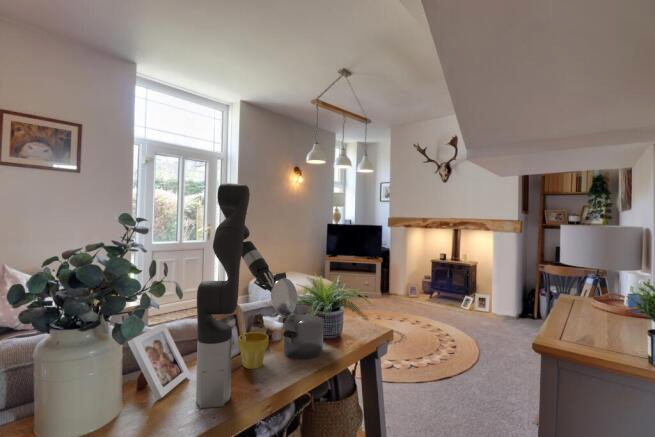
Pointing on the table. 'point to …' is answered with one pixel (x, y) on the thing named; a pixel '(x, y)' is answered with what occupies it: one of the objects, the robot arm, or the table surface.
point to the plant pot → (253, 349)
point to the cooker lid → (283, 295)
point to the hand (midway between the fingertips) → (277, 295)
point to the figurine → (258, 324)
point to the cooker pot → (302, 336)
